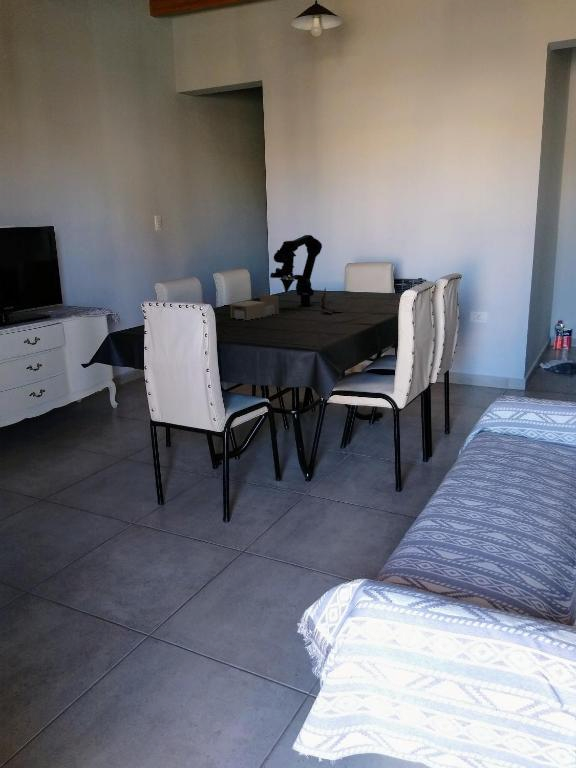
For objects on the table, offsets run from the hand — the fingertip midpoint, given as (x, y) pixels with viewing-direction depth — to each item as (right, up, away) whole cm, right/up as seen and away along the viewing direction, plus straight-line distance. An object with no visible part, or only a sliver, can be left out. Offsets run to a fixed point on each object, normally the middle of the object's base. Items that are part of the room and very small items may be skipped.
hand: (286, 292), depth 354 cm
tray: (-17, -15, -12) cm, 26 cm away
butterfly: (+24, -13, -9) cm, 29 cm away
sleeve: (-20, -16, -15) cm, 30 cm away
